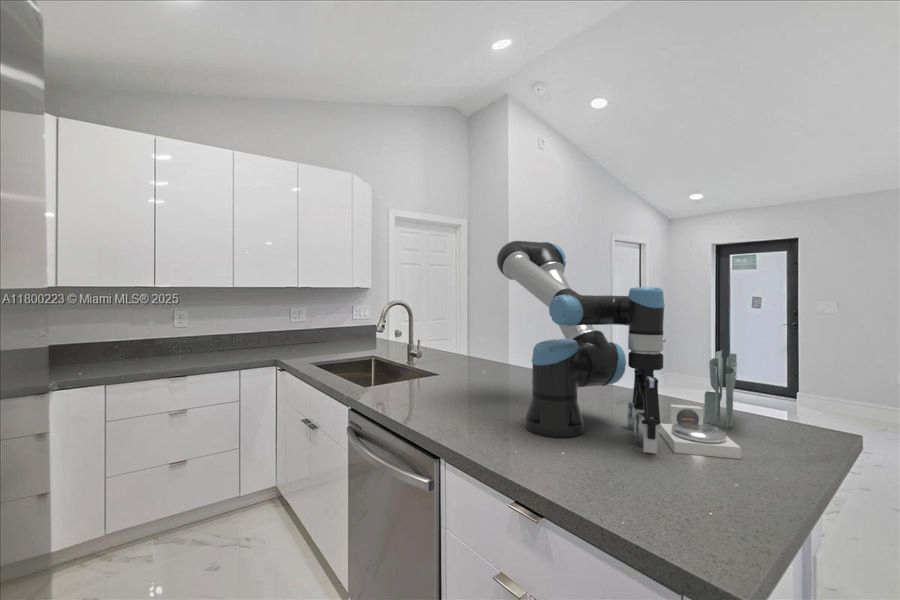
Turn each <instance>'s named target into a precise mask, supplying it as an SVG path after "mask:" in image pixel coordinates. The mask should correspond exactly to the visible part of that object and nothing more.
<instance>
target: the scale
mask: <svg viewBox="0 0 900 600" xmlns="http://www.w3.org/2000/svg"><path fill="white" fill-rule="evenodd" d="M679 423H691V424H699V425H704V408H703V407H701V406H696V405H687V404H686V405H682V404H672V403H671V404H669V423H663V422H662V423H661V422H660V424H659V434H660V435H661V437H662V438H663V439H664V441H665V442H666V444H667V445H668V446H669V447H670V449H671V450H672V451H673V453H675V454H683V455H684V454H685V455H695V456H706V457H716V458H727V459H735V460H736V459H737V460H741V458H742V454H741V453H742V448H741V447H740V445H738V444H737V443H736V442H735V441H733V440H732V439H731V438H729V437H728V436H727V435H726V441H724V442H721V443H705V442H698V441H692V440H688V439H685V438H682V437H679V436H677V435H675V434H673V433H672V425H674V424H679ZM715 428H716V429H718V427H715Z"/></svg>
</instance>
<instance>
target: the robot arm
mask: <svg viewBox="0 0 900 600" xmlns="http://www.w3.org/2000/svg"><path fill="white" fill-rule="evenodd" d="M496 264H497V267H498V270H499V271H500V273H501V274H502V275H503V276H504V277H505V278H507V279H509V280H511V281H515V282H517V283H518V284H519V285H520V286H522V287H523V288H524V289H525V290H526V291H528V292H529V293H530V294H532V295H533V296H534V297H535V298H536V299H537V300H539V301H540V302H541V303H543V305H545V306H546V307H547V308H548V313H549V316H550V317H551V321H552V322H553V323H555V325H558V327H559V329H560V331H561V333H562V335H563V336H564V338H559V339H556V338H555V339H547V340H544V341H543V340H542V341H540V342H538V343H536V344H535V345H534V347H533V350H532V359H531V363H532V376H531V377H532V381H531V382H532V384H531V386H532V393H531V394H532V398H531V400H530V404H529V406H528V409H527V413H526V415H525V428H526V429H527V430H528V431H530V432H531V433H534V434H537V435H541V436H545V437H552V438H573V437H577V436H580V435H583V433H584V432H585V422H584V418H583V415H582V413H581V409H580V406H579V403H578V388H586V387H599V386H601V387H603V386H604V387H606V386H608V385H613V384H616V383H617V382H619V381H620V380H621V379H622V378H623V377H624V375H625V371H626V365H627V364H628V367H629V368H631V369H634V370H633V371H634V379H633V381H634V382H633V392H632V400H631V401H632V402H633V404H634V408H636V409H634V431H633V436H635V422H636V413H644V417H645V420H642V424H644V433H643V448H642V449H643V450H642V451H643V453H648V454H655V455H656V454H658V425H660V423H661V417H660V416H661V415H660V414H661V413H660V404H659V403H660V402H659V379H658V378H656V377H654V376H655V375H654V371H661V370H662V369H664V354H663V353H661V352H663V351H664V343H666V341H667V339H666V338H664V317H665V316H664V314H665V313H664V312H665V300H664V299H665V298H664V291H663V289H662V288H660V287H658V286H657V287H655V286H654V287H652V286H646V287H645V286H644V287H640V286H638V287H631V288H629V291H628V295H608V294H607V295H606V294H605V295H593V294H592V295H590V294H589V295H586V294H585V295H583V294H580V293H578V292H577V291H575V290H574V289H572V288H571V286H570V284H569V283H568V281H567V279H566V277H565V275H564V273H565V268H566V264H567V262H566V254H565V252H564V250H563V249H562V247H560V246H559V245H558V244H556V243H552V242H547V241H545V242H544V241H541V242H540V241H529V240H528V241H527V240H525V241H524V240H513V241H509V242H508V243H506V244H504V246H502V247H501V248H500V249H499V251H498V254H497V257H496ZM596 325H597V326H598V325H599V326H600V325H604V326H605V325H609V326H610V325H616V326H618V325H619V326H621V325H622V326H628V335H627V337H628V338H627V340H628V341H627V343H628V346H627V349H628V350H630V351H629V352H628V354H627V357H628V362H627V358H626V353H625V351H624V349H623V348H622V347H621V346H620V345H619V344H618V343H615V342H613V341H609V342H608V339H607V338H606V336H605V334H604V333H603V332H602V331H601V330H599V329H596V328H595V329H594V326H596ZM643 409H644V410H643ZM651 417H653V418H651Z"/></svg>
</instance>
